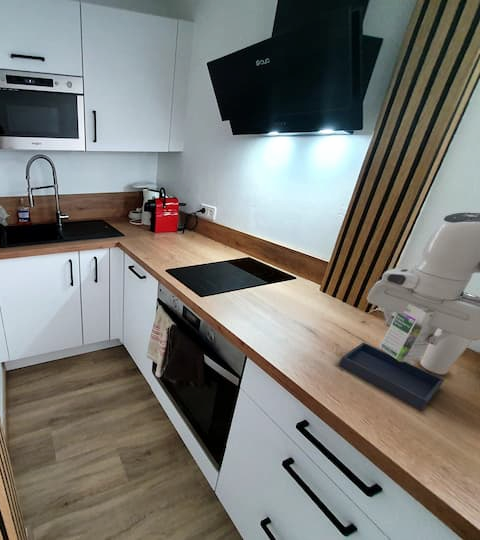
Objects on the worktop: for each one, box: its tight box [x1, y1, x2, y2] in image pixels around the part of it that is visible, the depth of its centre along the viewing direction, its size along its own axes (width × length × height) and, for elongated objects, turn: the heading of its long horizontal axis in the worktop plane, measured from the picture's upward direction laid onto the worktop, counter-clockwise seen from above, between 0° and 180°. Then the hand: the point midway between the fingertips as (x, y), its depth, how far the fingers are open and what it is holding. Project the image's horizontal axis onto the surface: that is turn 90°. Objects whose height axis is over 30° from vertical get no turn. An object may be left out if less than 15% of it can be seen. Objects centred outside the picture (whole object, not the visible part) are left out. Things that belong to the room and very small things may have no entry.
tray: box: [338, 341, 445, 412], centre depth 75 cm, size 17×13×3 cm
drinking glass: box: [419, 328, 473, 375], centre depth 76 cm, size 7×7×15 cm
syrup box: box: [379, 304, 438, 363], centre depth 70 cm, size 6×6×14 cm
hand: (408, 334), depth 71 cm, fingers closed on syrup box, 7 cm apart
